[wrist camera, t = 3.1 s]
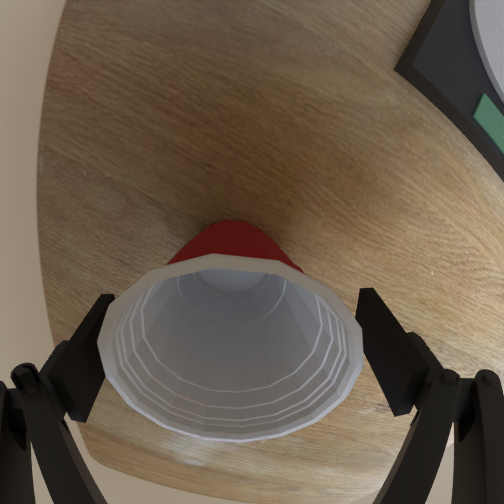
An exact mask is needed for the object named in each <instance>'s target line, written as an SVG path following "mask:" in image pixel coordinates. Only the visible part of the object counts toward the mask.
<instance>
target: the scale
mask: <svg viewBox="0 0 504 504" xmlns="http://www.w3.org/2000/svg"><path fill="white" fill-rule="evenodd" d="M394 70H395V71H396V72H398V73H399V74H400V75H401V76H403V77H404V78H405V79H406V80H407V81H408V82H410V83H411V84H412V85H413V86H414V87H415V88H417V89H418V90H419V91H420V92H421V93H422V94H423V95H424V96H426V97H427V98H428V99H429V100H430V101H431V102H432V103H433V104H434V105H435V106H436V107H437V108H438V109H439V110H440V111H442V112H443V113H444V114H445V115H446V116H447V117H448V118H449V119H450V120H451V121H452V122H453V124H454V125H455V126H456V127H457V128H458V129H459V130H460V131H461V132H462V133H463V134H464V135H465V136H466V137H467V138H468V139H469V141H470V142H471V143H472V144H473V145H474V146H475V147H476V148H477V150H478V151H479V152H480V153H481V154H482V155H483V157H484V158H485V159H486V160H487V161H488V163H489V164H490V165H491V166H492V168H493V169H494V170H495V171H496V173H497V174H498V175H499V176H500V178H501V179H502V180H503V182H504V0H432V2H431V4H430V6H429V8H428V9H427V11H426V13H425V15H424V17H423V19H422V21H421V22H420V24H419V26H418V28H417V30H416V32H415V33H414V35H413V37H412V39H411V41H410V42H409V44H408V46H407V48H406V50H405V52H404V53H403V55H402V57H401V59H400V60H399V62H398V64H397V66H396V68H395V69H394Z"/></svg>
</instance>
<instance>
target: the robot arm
mask: <svg viewBox="0 0 504 504" xmlns="http://www.w3.org/2000/svg"><path fill="white" fill-rule="evenodd" d="M114 300H115V297H114V294H101V296H100V297H99V298H98V300H97V301H96V302H95V304H94V305H93V307H92V308H91V310H90V311H89V312H88V314H87V315H86V317H85V318H84V320H83V321H82V322H81V324H80V325H79V327H78V328H77V330H76V331H75V333H74V334H73V336H72V337H71V339H70V340H69V341H66V340H64V341H63V342H61V343H60V344H59V345H57V346H56V348H55V349H54V351H53V352H52V354H51V355H50V357H49V358H48V360H47V361H46V363H45V364H44V366H43V367H42V369H41V370H40V372H38V370H37V369H36V367H35V365H34V364H32V363H23V364H20V365H18V366H16V367H15V368H14V369H13V371H12V372H11V379H12V381H13V383H14V385H15V386H16V388H12V389H7V387H6V385H5V384H4V382H2V381H0V504H36V503H35V495H34V486H33V476H32V462H31V443H32V446H33V449H34V452H35V455H36V458H37V461H38V464H39V467H40V470H41V473H42V475H43V478H44V480H45V483H46V485H47V488H48V491H49V493H50V496H51V498H52V500H53V502H54V504H107V502H106V500H105V499H104V497H103V495H102V493H101V492H100V490H99V488H98V486H97V485H96V483H95V481H94V479H93V478H92V476H91V474H90V472H89V470H88V468H87V466H86V464H85V462H84V460H83V458H82V456H81V454H80V453H79V450H78V448H77V446H76V443H75V441H74V439H73V437H72V435H71V432H70V430H69V428H68V425H67V423H66V421H65V420H64V416H65V414H66V412H67V413H68V415H69V417H70V418H71V420H74V421H79V422H84V423H86V421H87V418H88V416H89V414H90V411H91V409H92V406H93V404H94V402H95V399H96V397H97V395H98V392H99V390H100V388H101V385H102V383H103V381H104V379H105V376H106V375H105V372H104V368H103V364H102V360H101V356H100V352H99V348H98V344H97V340H98V337H99V334H100V331H101V327H102V324H103V321H104V318H105V315H106V312H107V309H108V306H109V304H111V303H112V302H113V301H114ZM355 320H356V321H357V323H358V324H359V325H360V327H361V328H362V339H363V352H364V354H365V356H366V358H367V360H368V362H369V364H370V366H371V368H372V370H373V372H374V374H375V376H376V378H377V380H378V382H379V384H380V387H381V389H382V391H383V393H384V395H385V397H386V399H387V401H388V404H389V406H390V408H391V410H392V412H393V414H394V417H396V416H400V415H405V414H409V413H410V412H411V410H412V408H413V405H415V407H416V409H417V413H416V415H415V416H414V418H413V420H412V422H411V424H410V426H411V427H410V429H409V432H408V434H407V436H406V439H405V441H404V443H403V445H402V447H401V450H400V452H399V454H398V456H397V458H396V460H395V462H394V464H393V466H392V468H391V470H390V472H389V474H388V476H387V478H386V480H385V482H384V484H383V486H382V488H381V490H380V491H379V493H378V495H377V497H376V499H375V501H374V502H373V504H425V502H426V500H427V497H428V495H429V493H430V490H431V488H432V485H433V482H434V480H435V477H436V474H437V471H438V469H439V466H440V462H441V460H442V457H443V454H444V451H445V447H446V444H447V441H448V437H449V434H450V430H451V426H452V423H453V422H454V474H453V490H452V501H451V504H504V395H503V390H502V386H501V382H500V379H499V377H498V375H497V374H496V373H494V372H493V371H491V370H487V369H483V370H480V371H478V372H477V374H476V376H475V378H460V376H459V375H458V374H457V373H456V372H455V371H453V370H450V369H444V368H443V367H442V365H441V364H440V362H439V361H438V360H437V358H436V357H435V355H434V354H433V353H432V351H430V348H429V347H428V346H426V343H425V342H424V340H423V339H422V338H421V337H420V336H419V335H417V334H416V333H414V332H408V333H406V332H405V330H404V329H403V328H402V326H401V325H400V324H399V322H398V321H397V319H396V318H395V317H394V315H393V314H392V313H391V311H390V310H389V308H388V307H387V306H386V304H385V303H384V302H383V300H382V299H381V298H380V296H379V295H378V294H377V292H376V291H375V290H374V288H360V292H359V298H358V304H357V310H356V316H355Z"/></svg>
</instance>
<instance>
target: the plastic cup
mask: <svg viewBox="0 0 504 504" xmlns="http://www.w3.org/2000/svg"><path fill="white" fill-rule="evenodd" d="M97 344H98V348H99V352H100V356H101V360H102V364H103V368H104V372H105V375H106V378H107V379H108V380H109V381H110V383H111V384H112V385H113V386H114V388H115V389H116V390H117V391H118V393H119V394H120V395H121V396H122V398H123V399H124V400H125V401H126V402H127V404H128V405H129V406H130V407H132V408H133V409H135V410H136V411H138V412H139V413H141V414H143V415H144V416H146V417H147V418H149V419H150V420H152V421H154V422H155V423H157V424H158V425H160V426H162V427H164V428H167V429H170V430H173V431H176V432H179V433H182V434H185V435H188V436H192V437H195V438H198V439H203V440H214V441H226V442H249V441H256V440H263V439H269V438H275V437H281V436H284V435H287V434H289V433H291V432H294V431H296V430H299V429H301V428H303V427H306V426H308V425H310V424H313V423H315V422H317V421H319V420H320V419H321V418H323V417H324V416H325V415H326V414H328V413H329V412H330V411H331V410H332V409H334V408H335V407H336V406H337V405H338V404H340V403H341V402H342V401H343V400H344V399H345V398H346V397H347V396H348V394H349V393H350V391H351V389H352V387H353V385H354V383H355V381H356V379H357V377H358V375H359V374H360V372H361V370H362V368H363V366H364V363H363V339H362V328H361V327H360V325H359V324H358V323H357V321H356V320H355V318H354V317H353V316H352V314H351V313H350V311H349V310H348V309H347V307H346V306H345V304H344V303H343V302H342V300H341V299H340V298H339V296H338V295H337V293H336V292H335V291H334V290H333V289H331V288H330V287H329V286H327V285H325V284H323V283H321V282H319V281H317V280H315V279H313V278H311V277H310V276H308V275H306V274H305V273H304V272H303V271H302V270H301V268H300V267H298V266H297V265H295V264H294V263H293V262H292V261H291V260H290V259H289V258H288V257H287V255H286V254H285V253H284V252H283V251H282V250H281V249H280V248H279V246H278V245H277V244H276V243H275V242H274V241H273V240H272V239H271V238H270V237H268V236H266V234H265V233H264V232H263V231H262V230H261V229H259V228H257V227H255V226H253V225H251V224H249V223H248V222H245V221H236V220H225V221H221V222H218V223H214V224H211V225H209V226H208V227H207V228H205V229H204V230H203V231H202V232H200V233H199V234H198V235H197V236H196V237H195V238H193V239H192V240H191V241H190V242H188V243H187V244H186V245H185V246H184V247H183V248H182V249H181V250H180V251H179V252H178V253H177V254H176V255H175V256H174V257H173V258H172V259H171V260H170V261H169V262H168V263H167V264H166V265H165V266H162V267H158V268H155V269H152V270H151V271H149V272H148V273H147V274H146V275H144V276H143V277H142V278H141V279H139V280H138V281H137V282H136V283H135V284H133V285H132V286H131V287H130V288H129V289H127V290H126V291H125V292H124V293H122V294H121V295H120V296H119V297H118V298H117V299H115V300H114V301H113V302H112V303H111V304H109V306H108V309H107V312H106V315H105V318H104V321H103V324H102V327H101V331H100V334H99V337H98V340H97Z"/></svg>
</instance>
